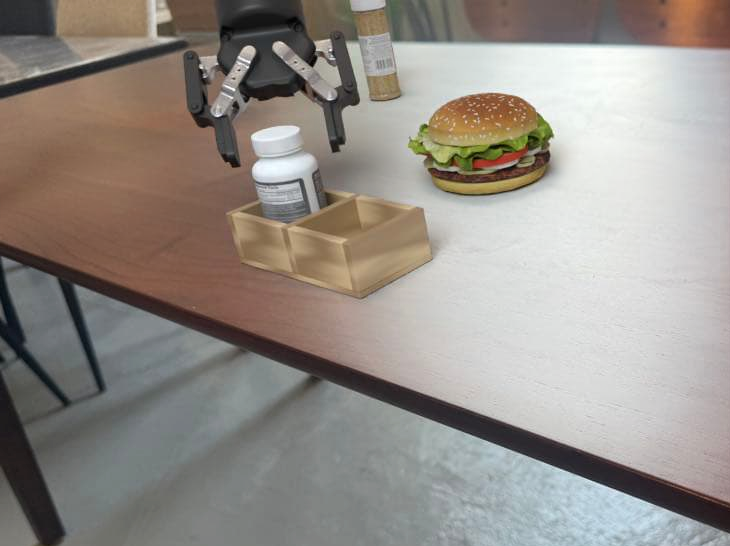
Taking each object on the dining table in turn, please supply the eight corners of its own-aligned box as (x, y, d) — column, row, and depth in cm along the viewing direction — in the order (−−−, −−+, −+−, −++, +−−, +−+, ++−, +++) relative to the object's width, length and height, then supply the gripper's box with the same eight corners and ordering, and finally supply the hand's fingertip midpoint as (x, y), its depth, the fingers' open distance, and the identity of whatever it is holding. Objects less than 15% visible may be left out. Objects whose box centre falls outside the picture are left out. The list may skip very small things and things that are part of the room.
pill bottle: (304, 229, 78) (276, 120, 73) (348, 237, 75) (323, 124, 70) (260, 253, 74) (227, 139, 69) (305, 261, 72) (275, 144, 66)
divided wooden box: (240, 262, 75) (225, 213, 72) (312, 229, 80) (300, 182, 77) (360, 299, 66) (348, 244, 64) (432, 259, 71) (423, 207, 69)
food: (402, 174, 91) (388, 96, 87) (525, 148, 95) (517, 72, 90) (438, 213, 80) (424, 127, 76) (575, 182, 84) (570, 98, 80)
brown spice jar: (400, 91, 123) (381, -13, 115) (402, 98, 119) (384, -8, 112) (368, 95, 122) (347, -8, 115) (369, 103, 118) (349, -4, 111)
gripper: (159, -28, 72) (186, 146, 69) (330, -49, 74) (363, 119, 71) (187, 30, 79) (212, 189, 76) (342, 9, 81) (373, 164, 78)
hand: (285, 155), depth 73 cm, fingers open, 8 cm apart
